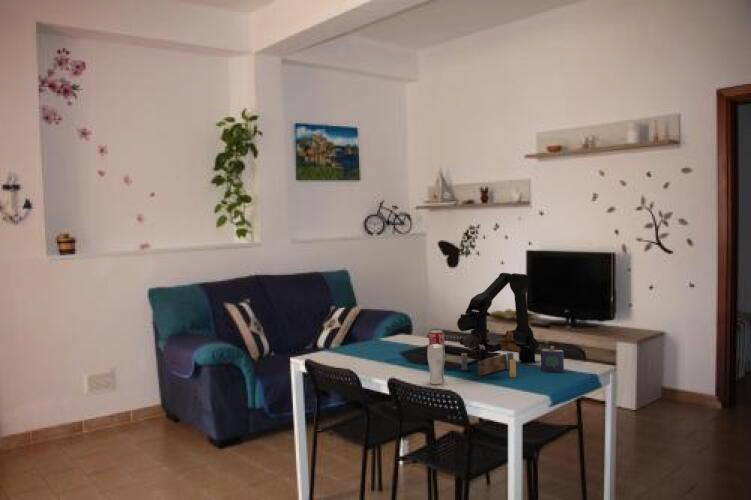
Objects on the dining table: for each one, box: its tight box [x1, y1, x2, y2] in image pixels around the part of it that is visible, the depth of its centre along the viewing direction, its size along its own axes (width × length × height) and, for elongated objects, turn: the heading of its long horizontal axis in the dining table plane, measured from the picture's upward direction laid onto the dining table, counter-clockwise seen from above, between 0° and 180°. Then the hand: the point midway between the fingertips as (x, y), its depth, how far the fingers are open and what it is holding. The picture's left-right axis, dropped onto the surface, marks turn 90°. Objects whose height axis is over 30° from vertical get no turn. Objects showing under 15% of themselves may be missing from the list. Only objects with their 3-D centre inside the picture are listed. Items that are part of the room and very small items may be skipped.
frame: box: [460, 352, 517, 378], centre depth 262 cm, size 22×13×7 cm, turn 84°
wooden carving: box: [497, 329, 520, 352], centre depth 296 cm, size 16×5×10 cm, turn 76°
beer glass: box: [426, 344, 446, 386], centre depth 252 cm, size 7×7×15 cm
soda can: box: [428, 329, 446, 352], centre depth 292 cm, size 7×7×12 cm
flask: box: [540, 345, 565, 373], centre depth 261 cm, size 9×3×11 cm, turn 74°
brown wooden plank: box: [477, 353, 508, 376], centre depth 263 cm, size 16×2×6 cm, turn 125°
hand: (480, 364), depth 262 cm, fingers closed
